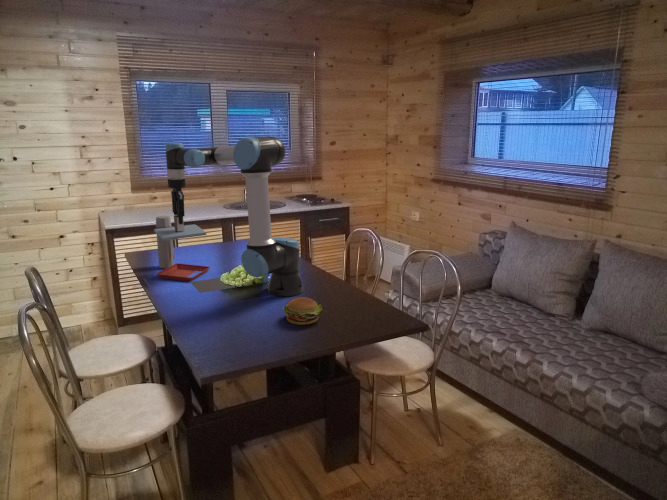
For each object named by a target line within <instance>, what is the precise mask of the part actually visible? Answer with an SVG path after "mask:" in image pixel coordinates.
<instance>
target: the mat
mask: <svg viewBox="0 0 667 500" xmlns="http://www.w3.org/2000/svg"><path fill="white" fill-rule="evenodd" d="M220 278H221V277H216V278H210V279H208V278H207V279H203V280H193V281H189V283H190V284H191V285H192V286H193V287H195V289H196V290H197V291H198V292H199V293H201V294H202V293H207V292H215V291H220V290H227V289H234V288H236V287H235V286H236V285H235V286H229V285H225V284H223V283H222V282H221V281H220Z"/></svg>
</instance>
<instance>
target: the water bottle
mask: <svg viewBox="0 0 667 500" xmlns="http://www.w3.org/2000/svg"><path fill="white" fill-rule="evenodd" d="M169 227H174V226H173V225H172V222H171V216H170V215H158V216H156V217H155V229H161V228H169ZM173 240H174V239H173ZM173 240H166V241H163V240H162V239H161V238H160V237H159V236H158V235H157V234H156V243H157V254H158V255H157V257H158V267H159V268H160V269H163V270H164V269H166V268H168V267H170V266H172V265H174V264H175V262H174V261H175V249H174V241H173Z"/></svg>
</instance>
